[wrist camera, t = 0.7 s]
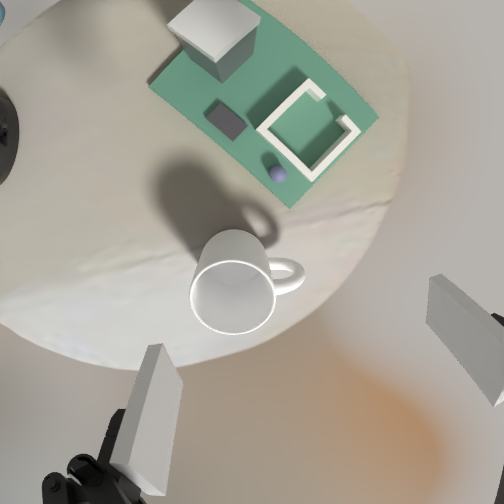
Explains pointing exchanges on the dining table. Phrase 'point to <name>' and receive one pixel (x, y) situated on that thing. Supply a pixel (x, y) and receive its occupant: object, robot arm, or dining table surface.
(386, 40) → the dining table surface
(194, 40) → the plug
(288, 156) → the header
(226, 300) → the mug
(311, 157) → the board
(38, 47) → the dining table surface
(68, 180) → the dining table surface
